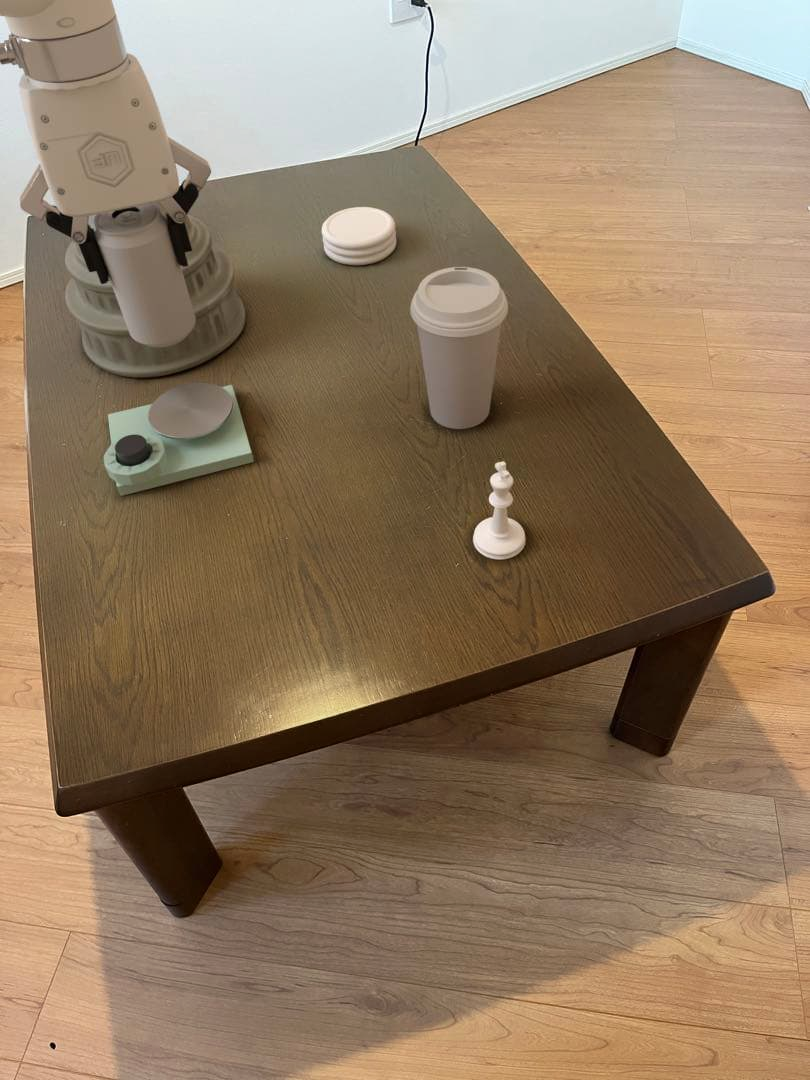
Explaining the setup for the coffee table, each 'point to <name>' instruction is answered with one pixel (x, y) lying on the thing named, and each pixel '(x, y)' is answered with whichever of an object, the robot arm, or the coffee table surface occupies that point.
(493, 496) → the chess piece
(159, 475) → the scale
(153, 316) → the beverage can
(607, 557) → the coffee table surface
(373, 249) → the coaster
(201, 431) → the plate
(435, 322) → the coffee cup
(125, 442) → the button
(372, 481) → the coffee table surface
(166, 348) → the dome
